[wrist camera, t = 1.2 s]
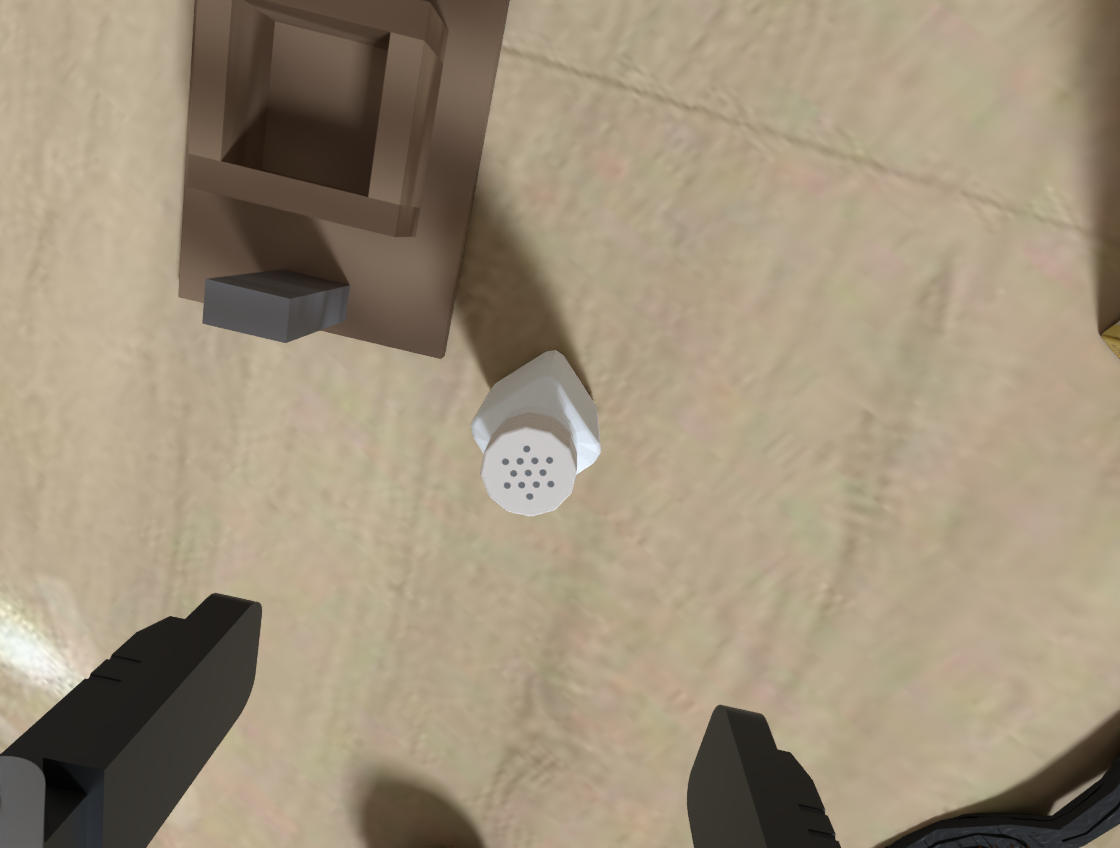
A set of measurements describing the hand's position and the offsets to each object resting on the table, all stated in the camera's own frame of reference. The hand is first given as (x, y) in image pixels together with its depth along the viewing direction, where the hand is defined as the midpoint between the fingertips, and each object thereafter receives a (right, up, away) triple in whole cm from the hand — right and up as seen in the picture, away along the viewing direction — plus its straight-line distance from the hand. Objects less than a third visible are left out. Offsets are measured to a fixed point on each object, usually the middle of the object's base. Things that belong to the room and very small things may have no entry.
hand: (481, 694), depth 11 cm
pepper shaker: (+1, +6, +19) cm, 20 cm away
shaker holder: (-8, +18, +16) cm, 25 cm away
